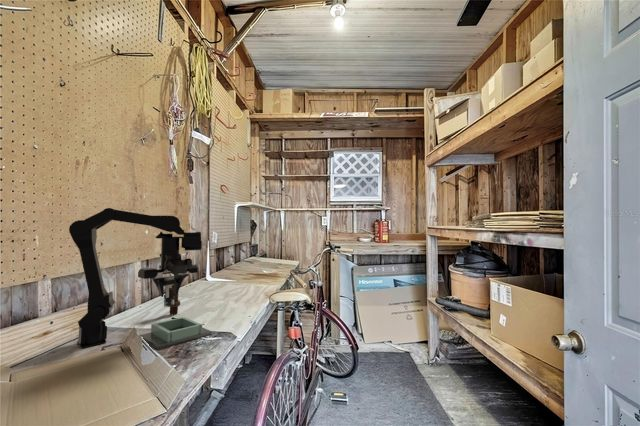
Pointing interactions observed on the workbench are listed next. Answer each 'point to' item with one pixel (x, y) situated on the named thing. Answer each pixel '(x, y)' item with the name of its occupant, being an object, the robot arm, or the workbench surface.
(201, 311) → the workbench surface
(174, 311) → the bolt
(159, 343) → the mounting plate
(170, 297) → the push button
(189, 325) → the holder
